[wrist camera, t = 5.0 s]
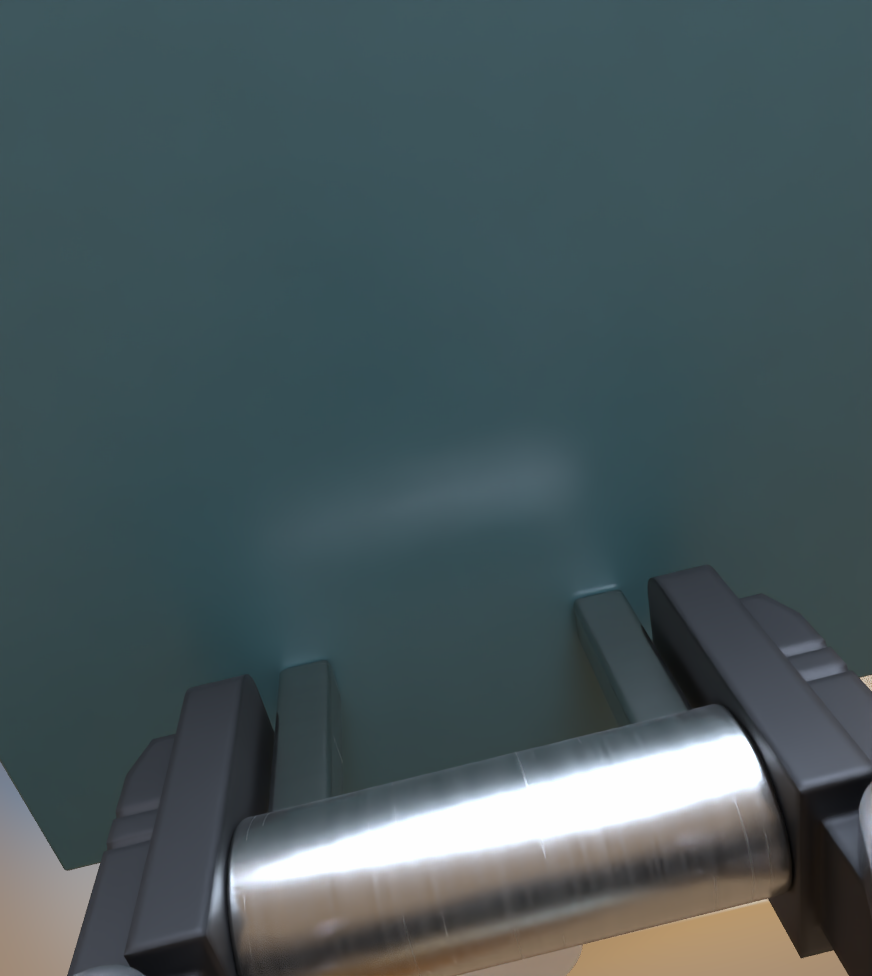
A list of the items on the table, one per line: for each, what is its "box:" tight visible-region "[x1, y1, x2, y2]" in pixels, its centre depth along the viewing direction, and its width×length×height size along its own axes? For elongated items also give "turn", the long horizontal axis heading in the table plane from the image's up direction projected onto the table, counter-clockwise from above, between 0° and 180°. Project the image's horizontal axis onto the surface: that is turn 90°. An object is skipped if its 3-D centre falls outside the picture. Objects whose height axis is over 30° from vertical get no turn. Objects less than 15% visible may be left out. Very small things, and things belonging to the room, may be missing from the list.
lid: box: [0, 0, 872, 976], centre depth 8 cm, size 14×13×5 cm
